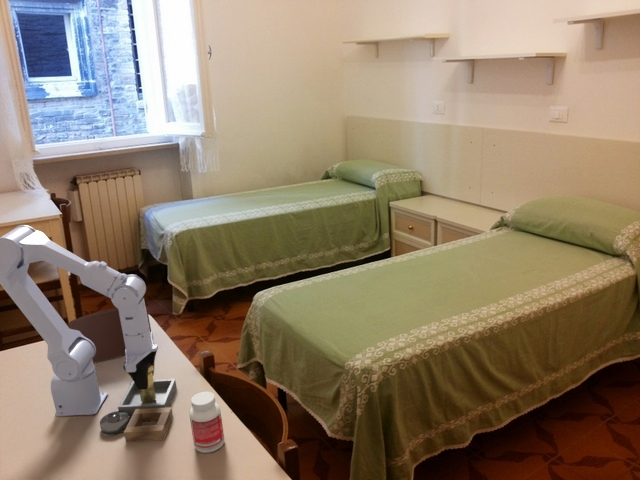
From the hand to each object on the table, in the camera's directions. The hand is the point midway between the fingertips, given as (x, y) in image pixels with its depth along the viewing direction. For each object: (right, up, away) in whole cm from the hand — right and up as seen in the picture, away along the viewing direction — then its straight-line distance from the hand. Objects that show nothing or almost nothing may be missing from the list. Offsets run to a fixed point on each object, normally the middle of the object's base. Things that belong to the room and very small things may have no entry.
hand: (145, 382), depth 130 cm
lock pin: (0, -4, +1) cm, 4 cm away
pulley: (-5, -8, -6) cm, 11 cm away
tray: (0, -5, +2) cm, 5 cm away
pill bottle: (+17, -9, -14) cm, 24 cm away
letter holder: (-16, +2, +26) cm, 31 cm away
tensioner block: (+3, -8, -8) cm, 12 cm away
